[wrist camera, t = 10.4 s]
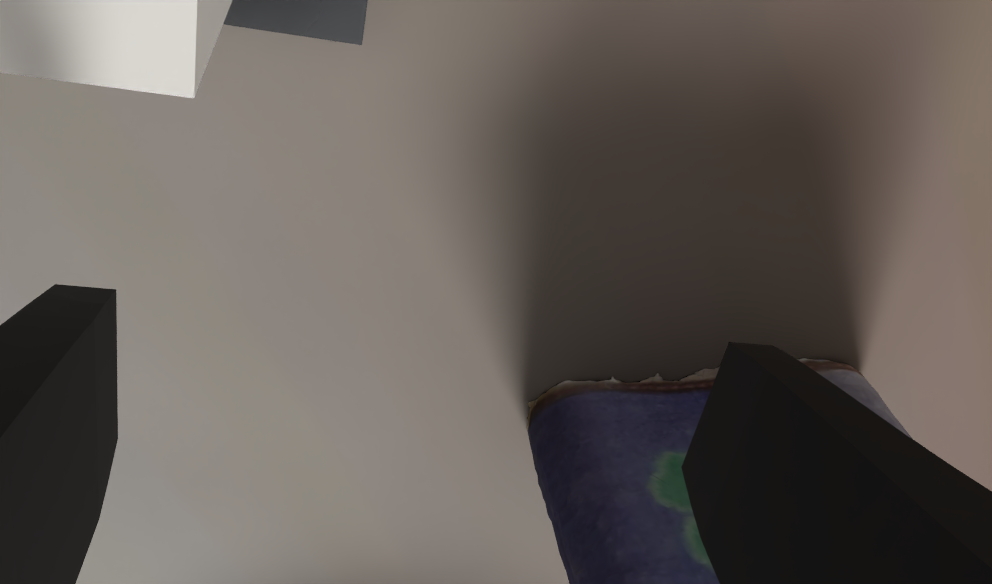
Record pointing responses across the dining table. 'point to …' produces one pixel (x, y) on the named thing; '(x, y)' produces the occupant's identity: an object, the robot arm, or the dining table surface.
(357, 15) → the cup brackets
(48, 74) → the rail
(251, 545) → the dining table surface
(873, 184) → the dining table surface
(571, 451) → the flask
